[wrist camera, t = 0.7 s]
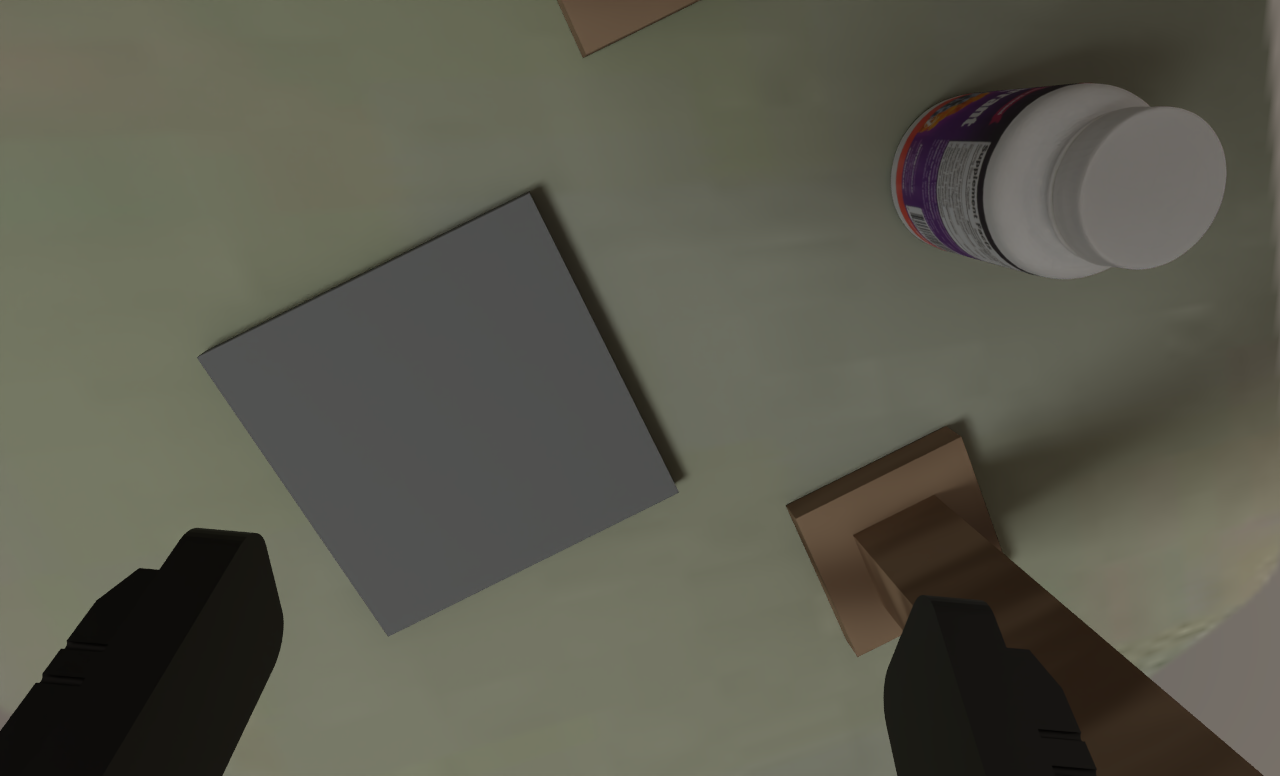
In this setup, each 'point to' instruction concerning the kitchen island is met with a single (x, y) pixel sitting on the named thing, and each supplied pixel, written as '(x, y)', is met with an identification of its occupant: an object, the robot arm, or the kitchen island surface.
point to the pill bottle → (1059, 179)
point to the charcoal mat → (446, 415)
